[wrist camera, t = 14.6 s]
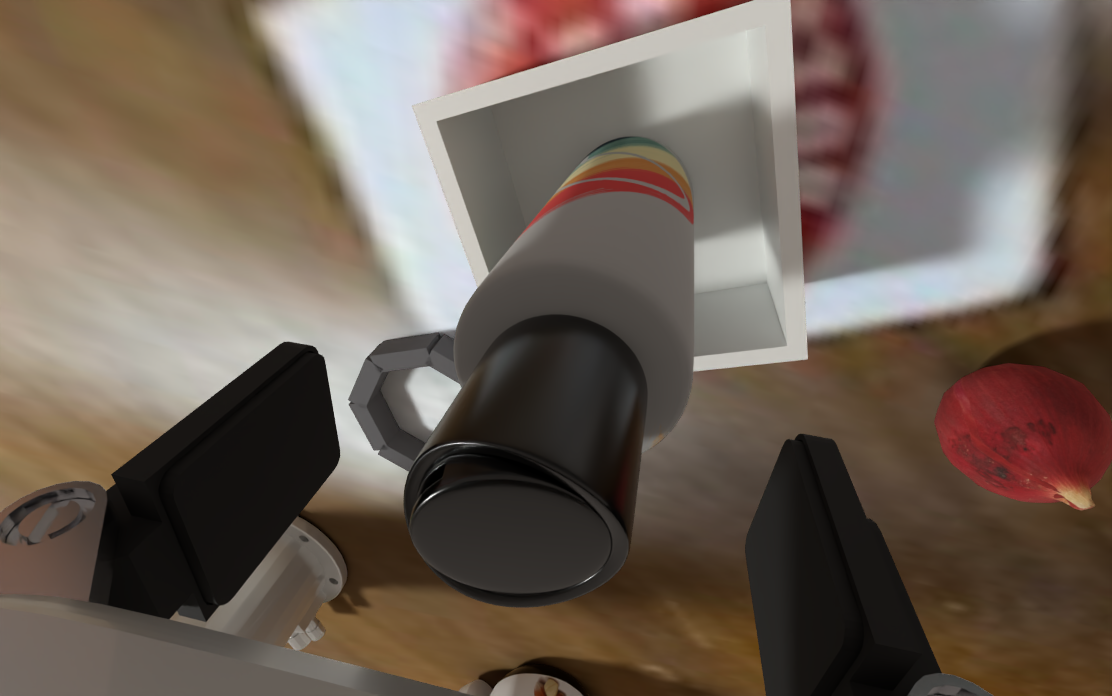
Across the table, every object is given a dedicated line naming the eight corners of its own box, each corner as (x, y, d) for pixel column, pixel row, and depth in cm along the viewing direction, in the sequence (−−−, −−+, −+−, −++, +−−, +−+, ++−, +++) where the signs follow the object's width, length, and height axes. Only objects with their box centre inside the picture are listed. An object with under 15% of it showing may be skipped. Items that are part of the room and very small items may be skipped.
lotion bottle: (617, 105, 23) (408, 326, 6) (721, 183, 23) (788, 571, 7) (549, 211, 26) (288, 549, 9) (643, 276, 26) (558, 702, 10)
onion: (900, 424, 28) (965, 546, 22) (928, 331, 26) (1014, 439, 19) (1025, 431, 27) (1136, 563, 21) (1071, 334, 24) (1217, 451, 18)
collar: (536, 459, 35) (529, 478, 34) (404, 467, 39) (393, 485, 37) (487, 325, 31) (476, 340, 29) (341, 347, 34) (325, 362, 32)
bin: (781, 288, 26) (807, 359, 20) (546, 323, 30) (515, 390, 24) (761, -1, 20) (789, -11, 15) (474, 87, 24) (411, 105, 19)
